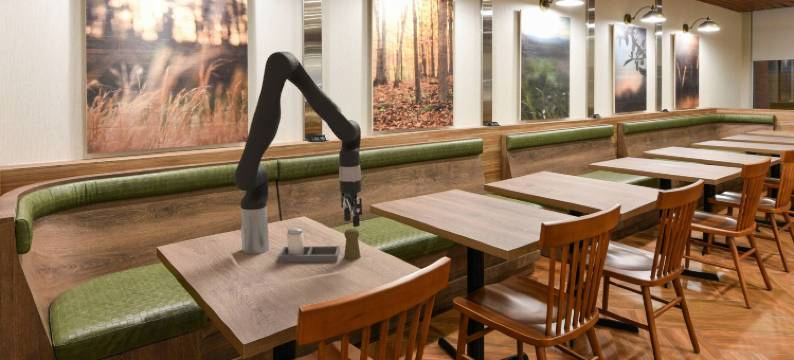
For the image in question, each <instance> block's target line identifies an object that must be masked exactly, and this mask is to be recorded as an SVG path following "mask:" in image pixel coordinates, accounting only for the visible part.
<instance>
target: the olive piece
mask: <svg viewBox="0 0 794 360" xmlns="http://www.w3.org/2000/svg"><path fill="white" fill-rule="evenodd" d="M343 235H344V237H345V246H344V247H345V248H344V256H343V258H344V259H345V260H348V261H351V260H359V259H361V258H362V257H361V252H360V251H361V250H360V244H359V243H360V242H359V237H360V232H359V230H358V229H357V228H348V229H346V230H345V231H344V234H343Z"/></svg>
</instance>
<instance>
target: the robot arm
mask: <svg viewBox="0 0 794 360" xmlns="http://www.w3.org/2000/svg"><path fill="white" fill-rule="evenodd" d="M287 81H288V82H290V83H292V84H293V86H295V87H296V88H297V89H298V91H300V92H301V94H302V95H303V98H304V99H305V100H306V103H307V104H308V106H310V109H312V110H313V112H314V113H315V114H316V115H318V117H320V118H321V120H323V121H324V122H325V123H326V124H327V126H328V128H329V129H330V131H331V132H332V133H333V134H334V136H335V137H336V138H337V139H339V141H341V147H340V148H341V149H340V150H339V153H338V155H339V156H338V158H339V170H338V171H339V172H338V176H339V178H338V179H339V181H338V182H339V192H340V207H341V208H342V210H343V220H344V221H345V222H350V221H351V219H352V226H353V227H354V228H355V227H356V228H357V227H360V224H361V223H360V216H362V215H363V203H362V201H363V200H362V198H361V197H358V193H361V192H362V169H361V161H360V159H361V157H360V147H361V139H362V132H361V129H362V128H361V127H360V124H359V123H358V122H357V121H355V120H352V119H347V117H346V116H345V115H344V114H343V113H342V110H341V108H340V107H339V106H338V104H337V103H336V102H335V101H334V100H333V99H332V98H331V97H330V96H329V95H328V94H327V93H326V92H324V90H323V89H322V88H321V87H320V86H319V85H318V84H317V82H315V80H314V79H313V78H312V77H311V75H310V74H309V73H308V72H307V70H306V69H305V67H304V66H303V64H302V63H301V61H300V60H299V59H298V57H296V55H294V54H293V53H292V52H289V51H276V52H273V53H271V54H270V55H269V56H268V57H267V59H266V61H265V66H264V71H263V78H262V84H261V89H260V92H259V95H258V99H257V103H256V106H255V110H254V112H253V116H252V119H251V123H250V127H249V131H248V136H247V138H246V141H245V145H244V149H243V152H242V154H241V157H240V159H239V162H238V165H237V167H236V169H235V172H234V183H235V186H236V187H237V188H238V189H239V190H240V191H244V192H245V194H244V196H243V197H242V198H241V199H240V214H241V215H240V217H241V226H240V231H241V248H242V249H241V250H242V251H243V253H244V254H245V255H248V254H249V255H257V254H263V253H266V252H269V250H270V243H269V242H270V241H269V226H268V210H267V208H268V207H267V202H268V199H269V174H268V170H267V168H266V167H265V165H264V164H262V163H261V162H262V159H263V157H264V155H265V153H266V152H267V150H268V148H269V147H270V145H271V144H272V142H273V141H274V140H275V138H276V136H277V133H278V129H279V126H280V123H281V118H282V107H281V103H282V102H281V101H282V99H281V98H282V94H283V90H284V87H285V85H286V82H287ZM351 214H352V217H351Z"/></svg>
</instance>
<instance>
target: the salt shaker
mask: <svg viewBox="0 0 794 360" xmlns="http://www.w3.org/2000/svg"><path fill="white" fill-rule="evenodd" d="M286 235H287V236H286V238H287V240H286V241H287V247H288V255H304V246H305V243H304V230H303V228H302V227H290V228H288V229H287V234H286Z"/></svg>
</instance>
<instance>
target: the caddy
mask: <svg viewBox="0 0 794 360" xmlns="http://www.w3.org/2000/svg"><path fill="white" fill-rule="evenodd" d="M340 252H341V247H340V245H338V246H337V245H332V246H331V245H326V246H325V245H321V246H318V245H317V246H316V245H314V246H313V245H312V246H311V245H310V246H305V245H304V255H288V246H283V248H282V249H281V251H280V253H279V254H278V256H277V257H278V259H277V260H278V263H327V262H330V263H335V262H338V260H339V255H340Z"/></svg>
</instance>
